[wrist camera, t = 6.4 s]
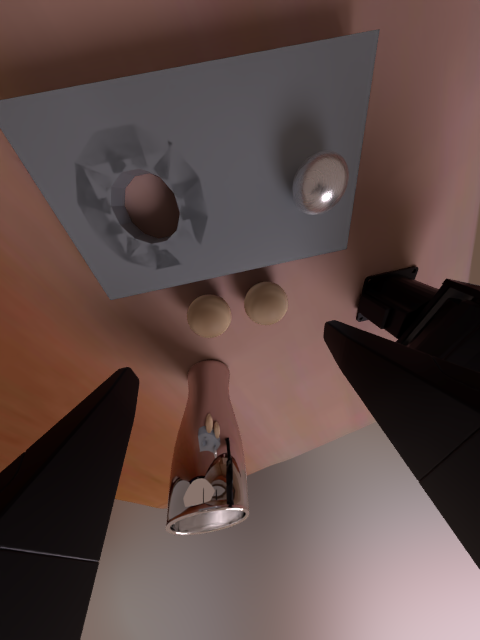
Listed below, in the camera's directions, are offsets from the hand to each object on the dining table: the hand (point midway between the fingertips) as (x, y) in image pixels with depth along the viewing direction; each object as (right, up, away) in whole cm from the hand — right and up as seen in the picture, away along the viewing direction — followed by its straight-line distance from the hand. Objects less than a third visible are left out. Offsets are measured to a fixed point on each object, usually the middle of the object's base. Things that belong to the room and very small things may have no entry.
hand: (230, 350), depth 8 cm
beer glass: (-4, -6, +19) cm, 20 cm away
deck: (-2, +12, +7) cm, 14 cm away
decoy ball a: (+3, +3, +11) cm, 12 cm away
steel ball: (+6, +11, +4) cm, 13 cm away
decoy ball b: (-3, +2, +11) cm, 11 cm away
